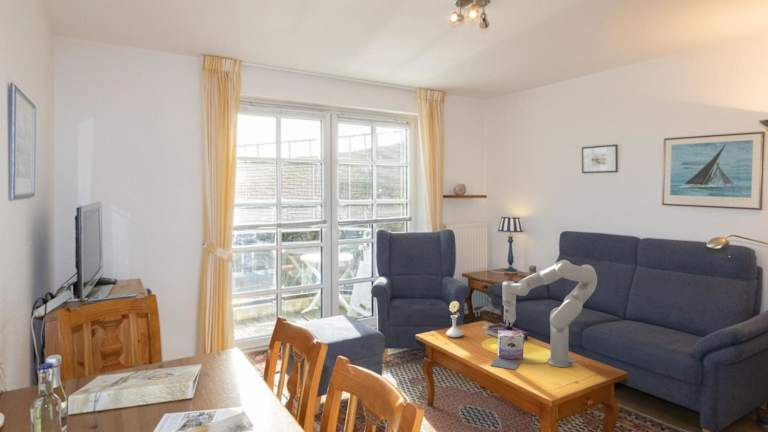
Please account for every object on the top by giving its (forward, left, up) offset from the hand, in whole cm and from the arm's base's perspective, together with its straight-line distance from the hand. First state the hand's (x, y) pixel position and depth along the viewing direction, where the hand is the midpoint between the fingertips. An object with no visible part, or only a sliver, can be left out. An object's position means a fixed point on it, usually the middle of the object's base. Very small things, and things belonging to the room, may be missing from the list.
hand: (509, 333), depth 260 cm
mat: (0, +11, -15) cm, 18 cm away
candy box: (0, 0, -14) cm, 14 cm away
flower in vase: (+42, -23, -15) cm, 50 cm away
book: (+12, -37, -15) cm, 42 cm away
